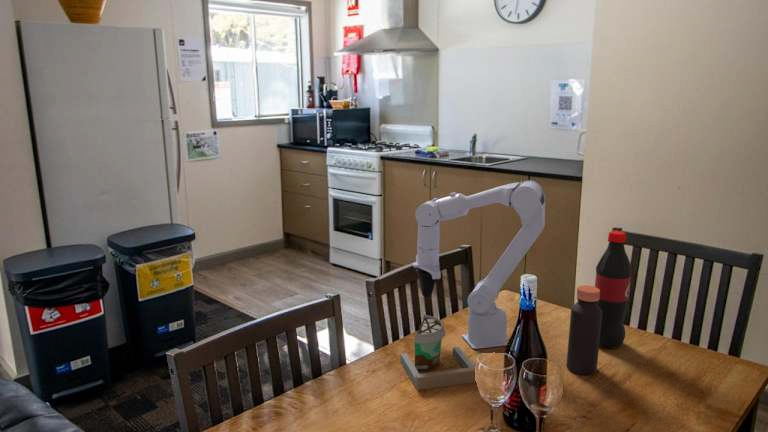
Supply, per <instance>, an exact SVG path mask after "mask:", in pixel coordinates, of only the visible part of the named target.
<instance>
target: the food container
mask: <svg viewBox="0 0 768 432" xmlns="http://www.w3.org/2000/svg"><path fill="white" fill-rule="evenodd" d="M422 318H423V319H422V322H421V323H420V325H419V327H418V330H417V333H414V337H413V338H414V339H413V343H414V366H415V367H416V369H417V371H418V372H419V373H422V372H423V373H428V372H431V371H433V370H436V369H437V368H438V367H439V366H440V360H441V359H440V358H441V348H442V342H443V341H442V340H443V337H445V334H446V332H445V331H446V330H445V325H444V324H443V321H441V319H440V318H438V317H435V316H432V315H428V314H423V317H422Z"/></svg>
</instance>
